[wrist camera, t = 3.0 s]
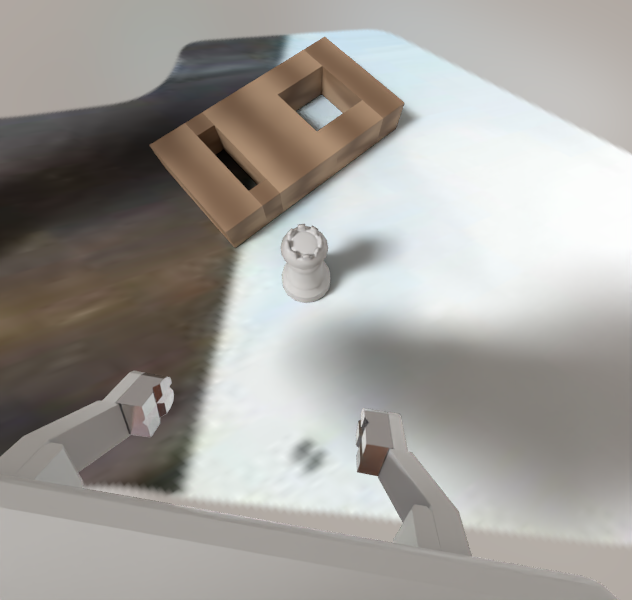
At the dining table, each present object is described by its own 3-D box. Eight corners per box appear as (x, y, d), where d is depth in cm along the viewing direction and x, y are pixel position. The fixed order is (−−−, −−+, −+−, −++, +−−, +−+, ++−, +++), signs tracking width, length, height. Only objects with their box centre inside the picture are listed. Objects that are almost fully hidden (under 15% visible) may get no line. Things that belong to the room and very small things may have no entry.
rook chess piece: (308, 249, 27) (306, 199, 19) (340, 282, 26) (351, 243, 18) (272, 279, 26) (255, 238, 18) (304, 314, 25) (301, 286, 18)
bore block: (323, 66, 33) (324, 36, 30) (396, 128, 31) (404, 102, 28) (165, 168, 29) (149, 145, 26) (235, 248, 27) (225, 232, 24)
